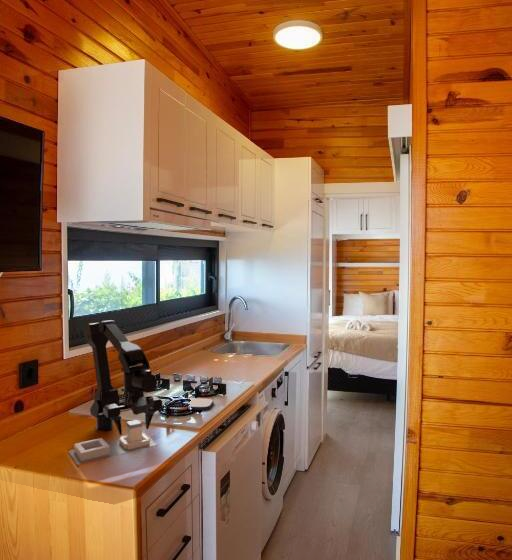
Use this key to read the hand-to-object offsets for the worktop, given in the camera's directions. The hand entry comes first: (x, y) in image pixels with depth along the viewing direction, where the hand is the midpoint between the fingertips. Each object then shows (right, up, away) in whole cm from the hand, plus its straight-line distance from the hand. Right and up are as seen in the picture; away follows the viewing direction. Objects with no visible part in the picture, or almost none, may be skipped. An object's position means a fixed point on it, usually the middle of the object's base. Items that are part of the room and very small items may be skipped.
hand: (134, 431), depth 165 cm
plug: (0, -4, 0) cm, 4 cm away
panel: (-6, -5, -4) cm, 8 cm away
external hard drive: (+11, -3, +42) cm, 43 cm away
